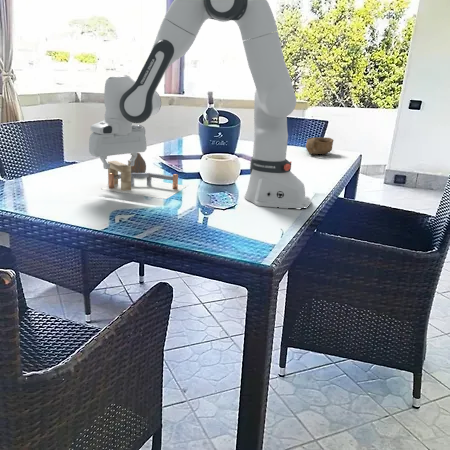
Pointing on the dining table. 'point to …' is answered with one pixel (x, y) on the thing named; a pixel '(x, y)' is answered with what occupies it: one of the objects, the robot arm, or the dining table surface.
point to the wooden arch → (125, 174)
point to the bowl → (319, 145)
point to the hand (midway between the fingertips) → (119, 167)
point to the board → (149, 188)
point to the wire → (148, 175)
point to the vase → (138, 165)
